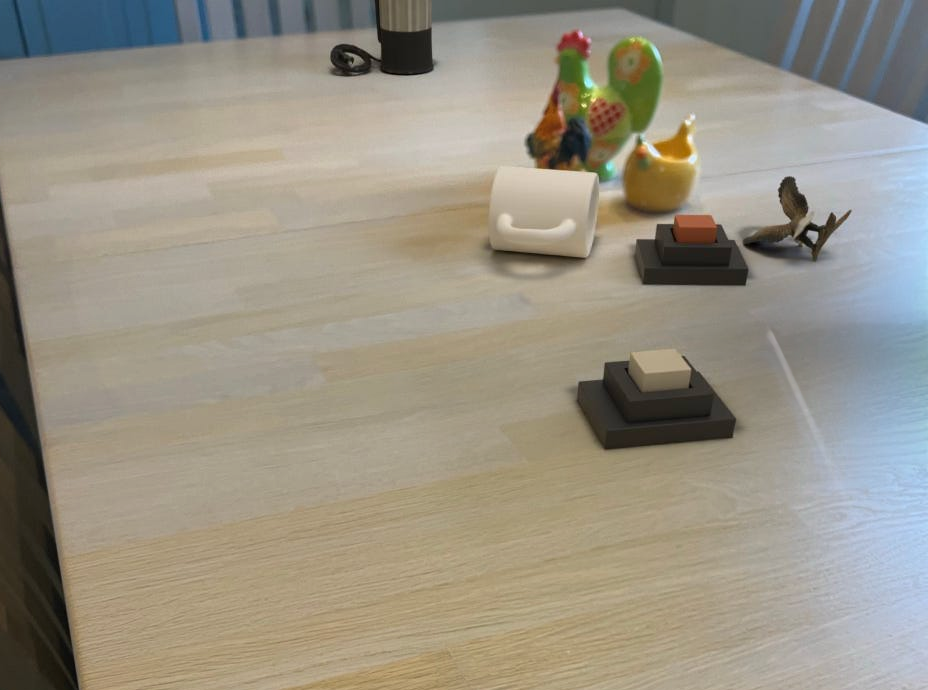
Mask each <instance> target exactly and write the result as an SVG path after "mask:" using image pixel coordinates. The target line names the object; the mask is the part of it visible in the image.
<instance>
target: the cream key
mask: <svg viewBox="0 0 928 690" xmlns="http://www.w3.org/2000/svg"><path fill="white" fill-rule="evenodd" d="M681 356H682V355H681V354H680V353H679V351H678V350H677V349H676V348H667V349H654V350H643V351H631V352H630V353H629V360H628V361H629V368H628V374H629V376H630V377H631V379H632V380H633V382H634V383H635V385H636V386H637V388H638V389H639V391H640V392H653V391H664V390H676V389H687V388H688V387H689V381H690V375H691V368H690V367H689V366H688V364H687V363H686V362H685V361H684V359H683V358H682V357H681Z"/></svg>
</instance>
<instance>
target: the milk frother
mask: <svg viewBox="0 0 928 690" xmlns="http://www.w3.org/2000/svg"><path fill="white" fill-rule="evenodd" d="M374 9H375V11H374V12H375V24H376V35H377V37H376V38H377V41H378V43H379V44H380V59H379V58H377V57H375V56H373V55H372V54H371V53H369V52H368V51H367V50H365V49H363V48H360V47H359V46H357V45H354V44H350V43H349V44H348V43H341V44H336V45H335V46H333V48H332V49H331V50H330V55H329V59H330V62H331V64H332V65H333V66H334V67H335V68H337V69H338V70H340V71H341V72H342V73H343V74H349V73H353V74H362V73H366V72H368V71H369V70H371V67H372V63H373V62H372V61H375V62H378V63H380V65H379V69H380V70H381V71H383V72H385V73H391V74H398V75H399V74H400V75H413V74H423V73H427V72H429V71H432V70H433V69H434V68H435V65H434V63H433V61H434V60H433V38H432V37H433V36H432V35H433V32H432V29H433V28H432V27H433V25H432V24H433V22H432V21H433V0H374ZM349 54H352V55H355V56H356V57H359V58H360V59H362V61H363V63H362V64H359V65H354V62H355V57H354V56H350V55H349Z"/></svg>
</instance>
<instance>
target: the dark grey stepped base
mask: <svg viewBox="0 0 928 690" xmlns="http://www.w3.org/2000/svg"><path fill="white" fill-rule="evenodd" d="M715 224H716V226H717V231H716V237H715V243H676V240H675V238H674V235H673V225H674V223H656V225H655V226H656V227H655V234H654V238H636V242H635V247H634V248H635V250H634V258H635V261H636V265H637V269H638V272H639V277H640V280H641V284H642V285H645V286H648V285H649V286H650V285H651V286H654V285H655V286H742V287H743V286H746V285H747V280H748V275H749V270H750V268H749V267H748V265H747V262H746V261H745V259H744V256H743V255H742V251H741V250H740V249H739V246H738V244H737V242H736V240H735V239H729V237H728V236H727V234H726V231H725V229H724V227H723V224H721V223H715Z"/></svg>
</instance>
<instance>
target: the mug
mask: <svg viewBox="0 0 928 690" xmlns="http://www.w3.org/2000/svg"><path fill="white" fill-rule="evenodd" d="M599 201H600V178H599V174H598V173H597V172H592V171H591V172H590V171H578V170H577V171H576V170H563V169H548V168H535V167H522V166H507V165H500V167H499V166H498V169H497V170H496V172H495V174H494V178H493V181H492V185H491V190H490V197H489V205H488V217H487V218H488V219H487V220H488V222H487V223H488V225H487V226H488V238H489V239H488V240H489V243H490V246H491V248H492V249H493V250H495V251H503V252H505V251H506V252H514V253H515V252H516V253H525V254H526V253H527V254H528V253H529V254H538V255H548V256H549V255H550V256H560V257H571V258H572V257H573V258H583V259H585V258H588V257H589V255H590V253H591V250H592V248H593V244H594V238H595V234H596V226H597V219H598V213H599Z"/></svg>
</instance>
